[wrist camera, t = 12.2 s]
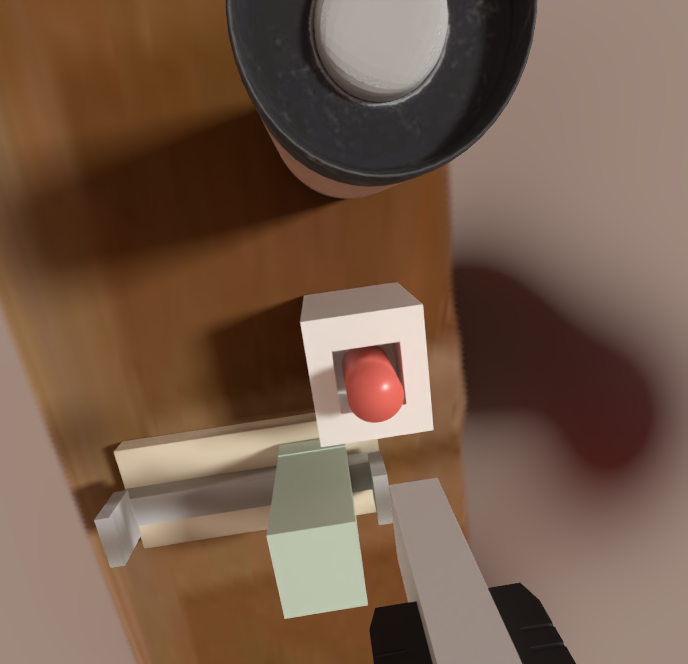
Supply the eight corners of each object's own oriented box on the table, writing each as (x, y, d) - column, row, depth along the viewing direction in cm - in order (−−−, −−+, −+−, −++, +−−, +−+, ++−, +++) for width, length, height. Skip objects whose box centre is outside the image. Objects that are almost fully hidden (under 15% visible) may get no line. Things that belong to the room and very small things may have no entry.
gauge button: (339, 346, 27) (344, 375, 22) (385, 339, 27) (401, 366, 22) (345, 389, 28) (351, 426, 23) (390, 383, 28) (406, 418, 23)
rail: (122, 441, 34) (82, 488, 28) (371, 403, 35) (383, 442, 29) (151, 535, 37) (120, 595, 31) (383, 498, 37) (396, 551, 31)
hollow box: (303, 295, 32) (300, 322, 24) (396, 282, 32) (422, 304, 24) (319, 394, 34) (320, 447, 26) (406, 381, 34) (433, 430, 27)
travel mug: (348, 225, 31) (406, 245, 12) (259, 153, 29) (152, 39, 10) (417, 133, 29) (611, -16, 10) (327, 53, 28) (357, -303, 9)
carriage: (279, 445, 33) (266, 534, 24) (344, 435, 33) (355, 520, 24) (292, 512, 35) (285, 620, 26) (354, 503, 35) (368, 606, 26)
